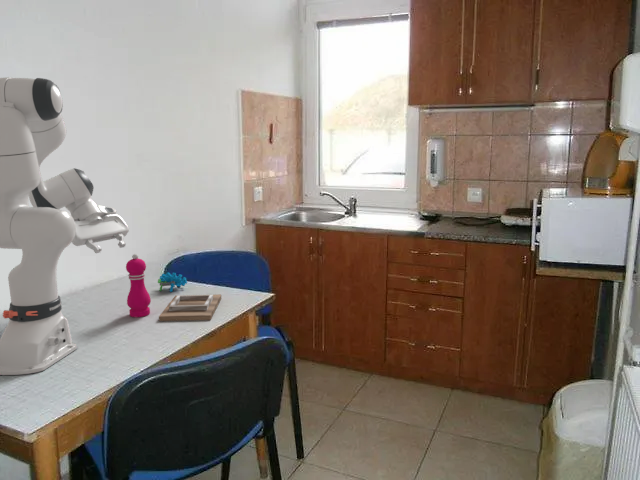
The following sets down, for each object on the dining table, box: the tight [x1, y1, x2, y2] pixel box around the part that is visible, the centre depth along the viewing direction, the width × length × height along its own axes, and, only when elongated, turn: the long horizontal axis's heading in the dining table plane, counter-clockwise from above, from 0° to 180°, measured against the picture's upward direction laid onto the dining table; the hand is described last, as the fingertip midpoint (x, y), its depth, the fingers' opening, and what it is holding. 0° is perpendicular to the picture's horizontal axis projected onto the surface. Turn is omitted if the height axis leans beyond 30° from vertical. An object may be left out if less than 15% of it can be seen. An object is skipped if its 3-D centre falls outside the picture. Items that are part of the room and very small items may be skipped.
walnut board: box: [158, 294, 222, 322], centre depth 174 cm, size 22×16×3 cm
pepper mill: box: [125, 253, 152, 318], centre depth 168 cm, size 7×7×20 cm
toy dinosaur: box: [157, 271, 188, 293], centre depth 196 cm, size 11×6×10 cm
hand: (111, 249), depth 172 cm, fingers open, 8 cm apart
